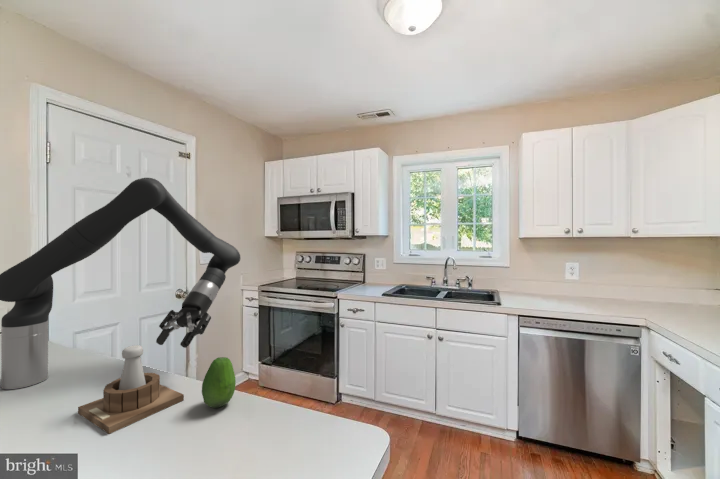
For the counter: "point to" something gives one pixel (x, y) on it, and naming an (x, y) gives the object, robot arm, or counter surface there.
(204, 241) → the robot arm
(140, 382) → the salt shaker
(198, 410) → the counter surface
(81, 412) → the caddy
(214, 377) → the avocado
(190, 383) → the counter surface
